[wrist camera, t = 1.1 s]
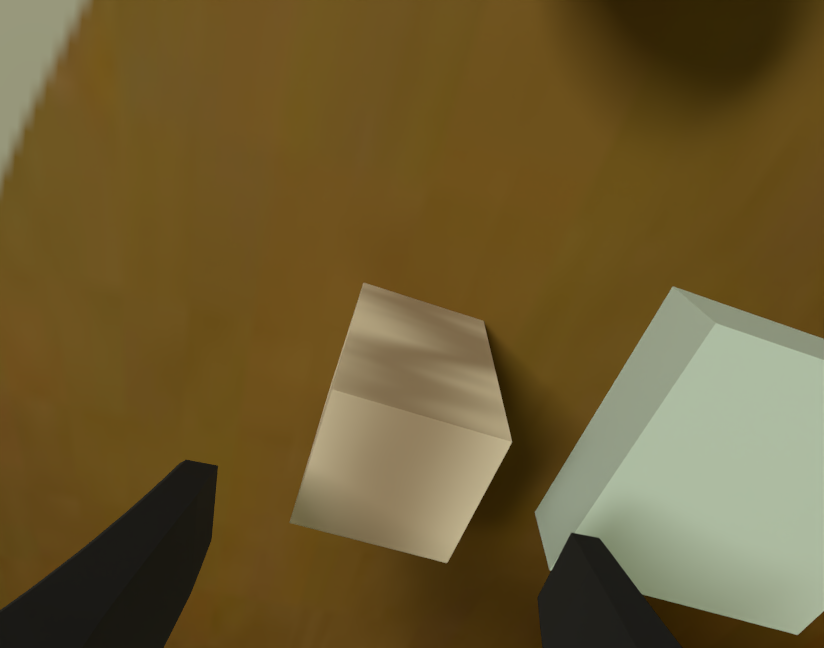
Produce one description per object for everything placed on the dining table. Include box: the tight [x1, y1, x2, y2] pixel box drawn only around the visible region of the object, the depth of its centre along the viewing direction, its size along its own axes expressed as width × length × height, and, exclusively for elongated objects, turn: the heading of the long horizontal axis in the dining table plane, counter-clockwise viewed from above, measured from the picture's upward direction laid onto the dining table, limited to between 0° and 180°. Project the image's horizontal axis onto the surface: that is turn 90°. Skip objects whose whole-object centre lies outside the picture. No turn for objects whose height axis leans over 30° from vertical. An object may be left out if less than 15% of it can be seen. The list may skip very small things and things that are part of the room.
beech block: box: [290, 283, 512, 563], centre depth 14 cm, size 4×4×6 cm
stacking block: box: [535, 287, 824, 635], centre depth 18 cm, size 10×10×3 cm
